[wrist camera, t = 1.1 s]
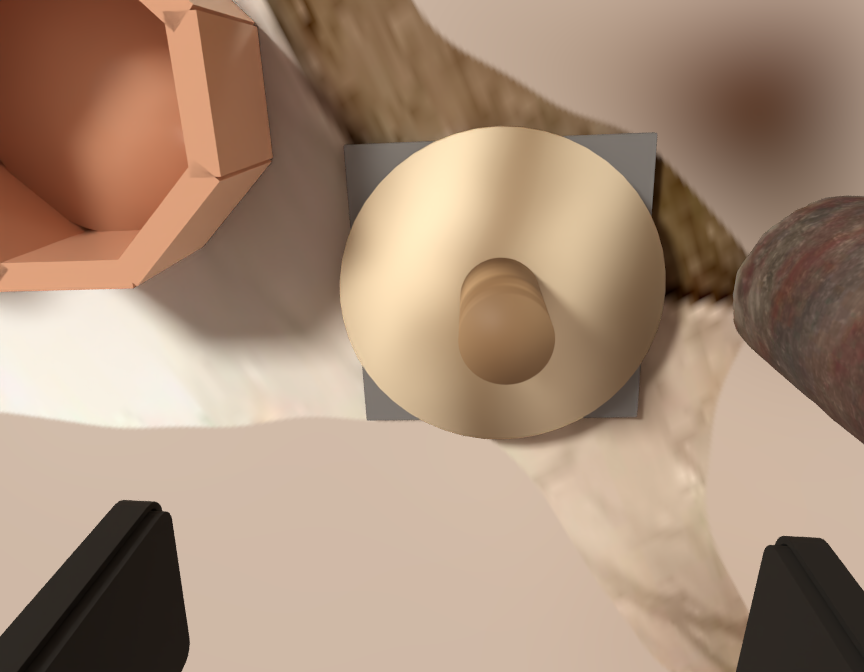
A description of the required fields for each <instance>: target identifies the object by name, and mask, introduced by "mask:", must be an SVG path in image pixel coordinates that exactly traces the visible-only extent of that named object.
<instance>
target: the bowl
mask: <svg viewBox="0 0 864 672" xmlns="http://www.w3.org/2000/svg"><path fill="white" fill-rule="evenodd" d="M254 23H255V22H254V21H253V20H252V19H251V18H250V17H249V16H248V15H246V14H245V13H244V12H243V11H242V10H241V9H240V8H239V7H238V6H237V5H236V4H235V3H234V2H233V1H232V0H0V292H8V291H47V290H86V289H125V288H135V287H136V286H139V285H141V284H142V283H144V282H145V281H147V280H149V279H150V278H152V277H154V276H155V275H157V274H159V273H160V272H162V271H164V270H165V269H167V268H169V267H170V266H172V265H174V264H175V263H177V262H179V261H180V260H182V259H184V258H185V257H187V256H189V255H190V254H192V253H194V252H195V251H197V250H199V249H200V248H202V247H203V246H204V245H205V244H206V243H207V241H208V240H209V239H210V238H211V237H212V235H213V234H214V233H215V232H216V230H217V229H218V228H219V227H220V225H221V224H222V223H223V222H224V220H225V219H226V218H227V217H228V215H229V214H230V213H231V212H232V210H233V209H234V208H235V207H236V205H237V204H238V203H239V202H240V201H241V199H242V198H243V197H244V196H245V194H246V193H247V192H248V191H249V189H250V188H251V187H252V186H253V184H254V183H255V182H256V181H257V179H258V178H259V177H260V176H261V174H262V173H263V172H264V171H265V169H266V168H267V167H268V166H269V165H270V163H271V162H272V161H271V160H270V159H271V158H273V154H272V146H271V138H270V129H269V121H268V113H267V105H266V96H265V88H264V80H263V71H262V63H261V55H260V47H259V38H258V30H257V27H256V26H253V25H254Z"/></svg>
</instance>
